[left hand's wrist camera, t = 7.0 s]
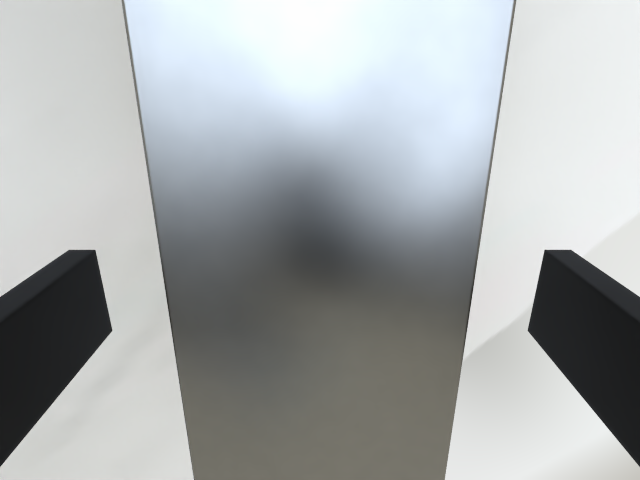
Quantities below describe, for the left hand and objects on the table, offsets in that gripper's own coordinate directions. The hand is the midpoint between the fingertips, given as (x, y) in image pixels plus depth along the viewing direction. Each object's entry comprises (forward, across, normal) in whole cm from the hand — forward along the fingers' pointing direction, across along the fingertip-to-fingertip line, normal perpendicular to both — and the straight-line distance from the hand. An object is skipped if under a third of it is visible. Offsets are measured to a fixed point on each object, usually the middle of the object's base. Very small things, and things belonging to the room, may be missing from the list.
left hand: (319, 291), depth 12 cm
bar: (+3, 0, -13) cm, 13 cm away
